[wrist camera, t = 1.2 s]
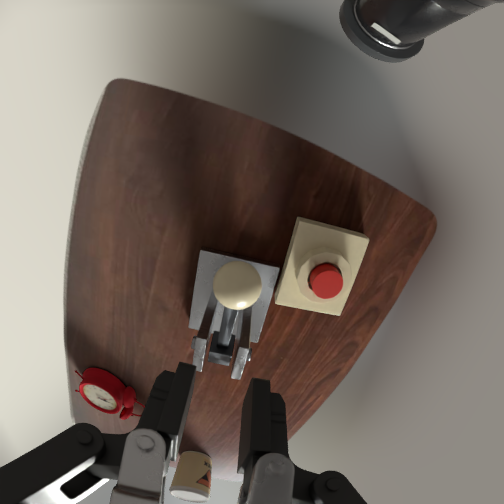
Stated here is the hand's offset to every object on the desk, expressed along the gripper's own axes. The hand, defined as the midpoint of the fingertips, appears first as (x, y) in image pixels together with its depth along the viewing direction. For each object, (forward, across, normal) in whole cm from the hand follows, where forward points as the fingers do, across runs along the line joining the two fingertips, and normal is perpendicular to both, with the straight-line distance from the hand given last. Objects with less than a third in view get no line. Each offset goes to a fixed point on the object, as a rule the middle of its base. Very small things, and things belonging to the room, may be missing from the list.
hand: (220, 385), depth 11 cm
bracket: (+25, 0, +10) cm, 27 cm away
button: (+21, -10, +3) cm, 24 cm away
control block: (+25, -10, +3) cm, 27 cm away
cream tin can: (+25, 0, +59) cm, 64 cm away
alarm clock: (+25, +19, +38) cm, 49 cm away
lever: (+13, 0, +4) cm, 14 cm away
